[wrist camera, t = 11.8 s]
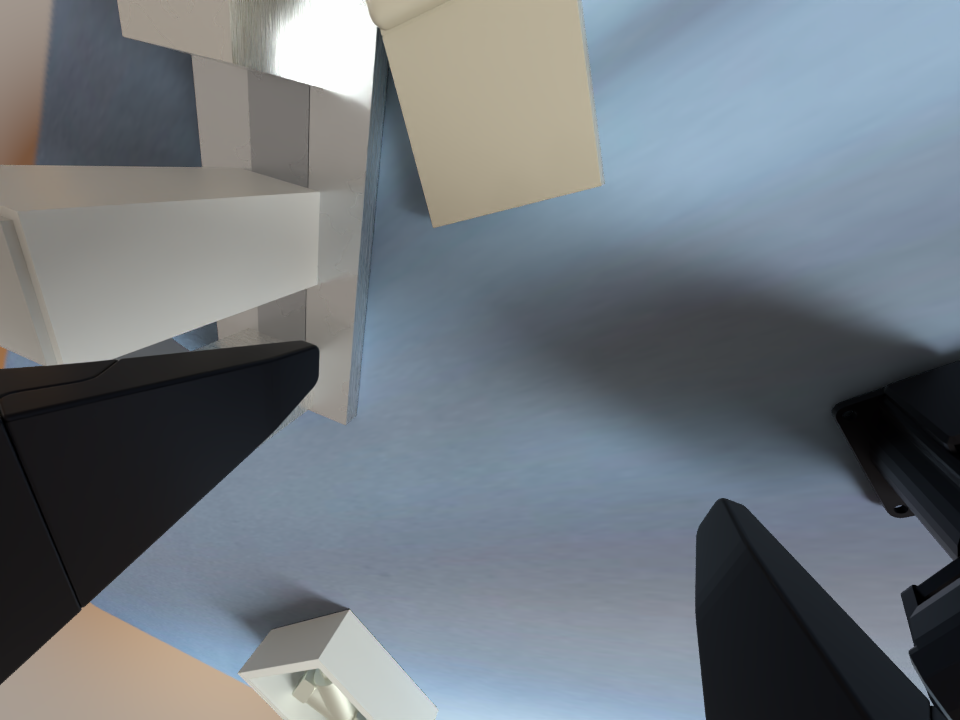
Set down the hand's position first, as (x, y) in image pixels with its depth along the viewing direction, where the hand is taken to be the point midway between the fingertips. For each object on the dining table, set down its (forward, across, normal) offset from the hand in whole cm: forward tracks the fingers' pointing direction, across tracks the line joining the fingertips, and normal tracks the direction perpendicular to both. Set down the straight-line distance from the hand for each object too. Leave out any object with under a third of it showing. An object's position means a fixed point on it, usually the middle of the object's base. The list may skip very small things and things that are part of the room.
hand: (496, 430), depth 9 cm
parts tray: (+13, +9, +45) cm, 47 cm away
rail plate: (+13, +16, +1) cm, 21 cm away
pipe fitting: (+14, +9, +47) cm, 49 cm away
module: (+12, +16, +1) cm, 20 cm away
